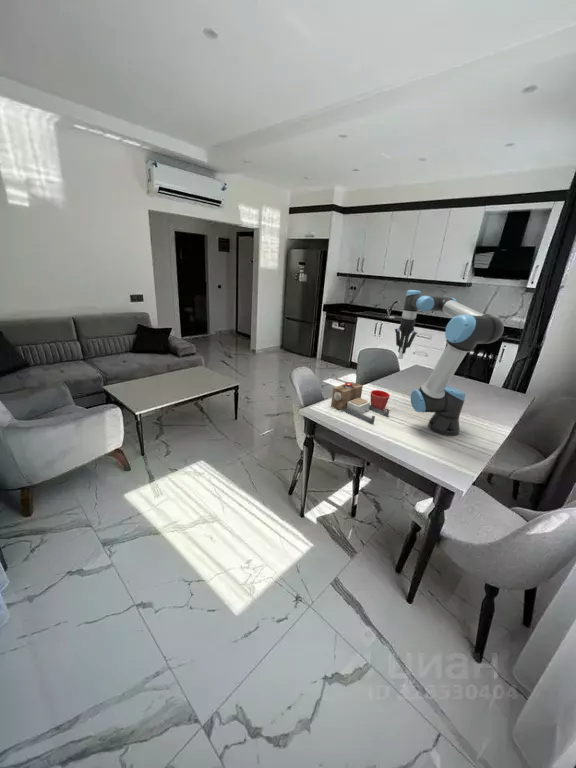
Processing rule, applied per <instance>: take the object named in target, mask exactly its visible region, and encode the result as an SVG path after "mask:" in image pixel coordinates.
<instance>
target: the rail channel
mask: <svg viewBox="0 0 576 768" xmlns="http://www.w3.org/2000/svg"><path fill="white" fill-rule="evenodd" d="M368 411H371V412H373V413H376V414H379V415H381V416H383V417H386V418H389V414H390V409H389V408H386V411H385V409H384V410H381V409H379V408H376V407H374V406H371V404H370V406H369V410H368ZM342 412H344V413H346V414H348V415H351V416H352V417H356V418H357V419H360V420H362V421H364V422H366V423H368V424H370V425H374V424H375V418H376V416H374V415H371V417H370V416H367V415H365V414H363V413H361V414H360V413H358V412H356V411H354V410H351V409H349V408H347V407H343V411H342Z"/></svg>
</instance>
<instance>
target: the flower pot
mask: <svg viewBox="0 0 576 768" xmlns="http://www.w3.org/2000/svg"><path fill="white" fill-rule="evenodd" d="M390 396H391V395H390V393H389V392H387V391H384V390H380V389H374V390H371V391H370V405H371V406H374V407H376V408H379V409H381V410H384V411H385V408H386V406H387V404H388V401H389V399H390Z"/></svg>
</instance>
